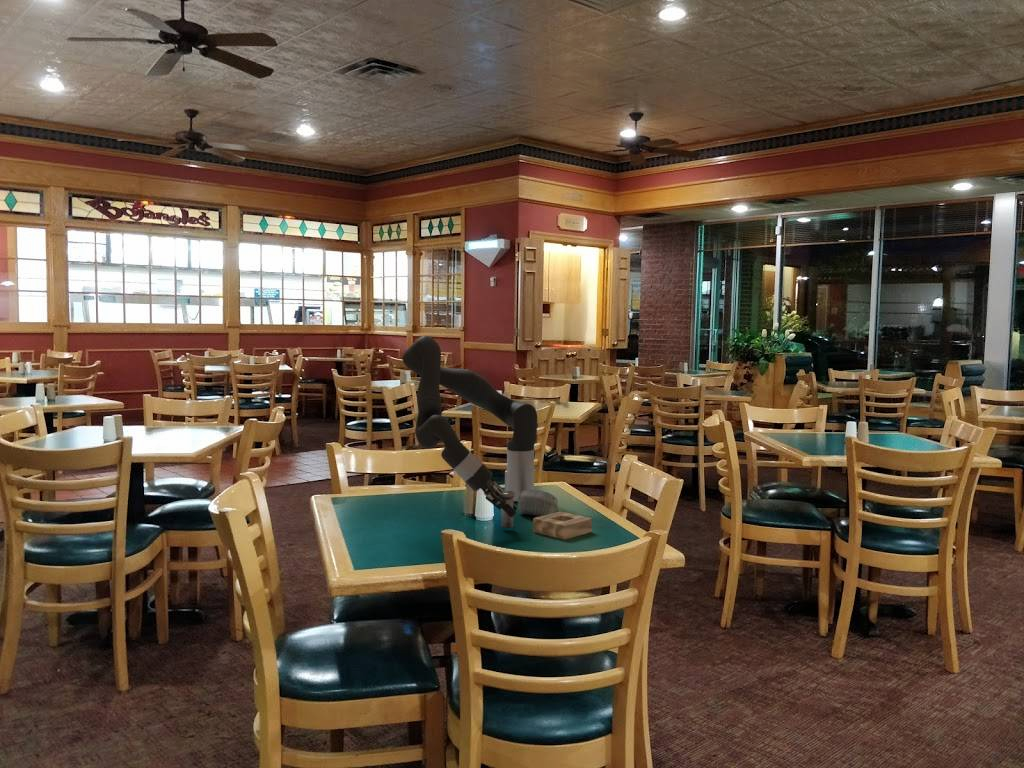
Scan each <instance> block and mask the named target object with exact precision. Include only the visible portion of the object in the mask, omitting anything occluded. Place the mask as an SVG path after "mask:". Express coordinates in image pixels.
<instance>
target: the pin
mask: <svg viewBox="0 0 1024 768" xmlns="http://www.w3.org/2000/svg"><path fill="white" fill-rule="evenodd" d="M500 493H501V494H502V495H503V498H504V500H505V501H507V503H508V504H509V505H510V506H511V507H512V508H513V504H514V501H513V497H515V492H512V491H505V490H504V491H502V492H500ZM501 527H502V528H505V529H510V528H513V527H514V516H513V517H510V516H509V515H508V514H507V513H506V512H505V511H504V510H503V509H501Z"/></svg>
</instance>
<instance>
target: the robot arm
mask: <svg viewBox="0 0 1024 768" xmlns="http://www.w3.org/2000/svg"><path fill="white" fill-rule="evenodd" d="M401 358H402V361H403V362H402V363H403V364H404V365H405V366H406V368H407V369H408V370H410V371H412V372H413V373H415V374H417V375H418V376H420V378H419V379H420V380H419V383H418V387H417V392H416V403H417V404H416V405H417V411H418V413H417V417H416V424H415V432H414V433H415V437H416V441H417V442H418V444H419V445H420V446H421V447H423V448H425V449H432V448H434V447H436V446H437V445H438V444H439V443H440V442H441V441H442V442H443V444H444V448H443V450H442V451H441V455H440V456H441V457H442V460H444V462H446V464H447V465H449V466H450V467H451V468H452V469H453V471H454V472H455V473H456V475H458V476H459V478H461V480H462V481H463V482H464V483H465V484H466V485H467V486H468V487H470V488H471V490H472V491H474V492H477V491H479V490H480V489H481V491H482V492H483V495H484V496H485V498H484V499H486V500H487V501H488V502H489V503H490V504H492V505H493V506H494V507H496V508H497V509H498V510H499V511H500V510H502V509H503V510H504V511H505V512H506V513H507V514H508V515H509V516H510V517H513V518H514V516H515V515H516V513H517V509H518V506H516V505H515V504H514V503H513V508H512V507H511V506H510V505H509V504H508V503H507V501H505V500H504V498H503V495H502V494H501V493H500V492H502V491H512V492H515V497H513V502H517V503H518V499H519V496H520V494H521V493H522V492H523V491H524V490H535V444H536V442H537V435H538V413H537V409H536V408H535V406H534V405H532V404H530V403H527V402H521V401H516V400H514V399H512V398H509V397H507V396H505V395H503V394H502V393H500V392H499V391H498V390H497V389H496V388H495V387H494V386H493V384H491V383H490V382H489V380H487V379H486V378H484V377H483V376H481V375H479V374H477V372H475V371H472V370H471V369H465V368H451V367H449V368H448V367H443V366H441V364H442V363H441V362H442V351H441V347H440V345H439V344H438V342H437V340H435V339H434V338H433V337H431V336H429V335H423V336H420V337H418V338H417V339H416V340H415V341H414V342H413V343H412V344H411V345H410V346H408V348H407V349H406V350H405V351H404V352H403V353H402V357H401ZM440 387H443V388H446V389H447V390H448V391H450V392H452V393H453V394H455V395H457V396H459V397H460V398H462V399H463V400H465V401H467V402H469V403H470V404H471V405H472V404H473V405H474V406H476V407H478V408H480V409H482V410H485V411H487V412H489V413H490V414H492V415H494V417H495V418H498V419H499V420H500V421H501V422H503V423H504V424H505V425H506V426H508V427H509V428H512V429H513V434H512V437H511V439H509V440H508V441H507V443H506V459H507V460H506V470H505V471H504V489H503V488H502V487H501V485H500V484H499V483H498V481H496V480H494V481H492V480H491V478H492V476H493V472H492V471H491V470H490V469H489V468H488V467H487V466H486V465H485V463H483V462H482V461H481V460H480V459H479V458H478V456H476V455H475V454H474V453H472V452H471V451H470V450H469V449H468V448H467V447H466V446H465V445H464V444H463V443H462V441H461V440H460V439H459V437H458V436H457V434H456V432H455V431H454V428H453V427H452V425H451V423H450V421H448V419H446V417H444V416H442V412H443V407H442V399H441V394H440V393H441V392H440Z"/></svg>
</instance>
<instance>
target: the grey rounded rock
mask: <svg viewBox="0 0 1024 768" xmlns="http://www.w3.org/2000/svg"><path fill="white" fill-rule="evenodd" d="M558 503H559V502H558V499H557V497H556V495H554V494H552V493H550V492H548V491H544V490H538V489H534V490H524V491H523V492H522V493H521V494H520V496H519V499H518V502H517V509H518V511H519V513H521V514H522V515H527V516H534V517H541V516H544V515H548V514H552V513H556V512H557V509H558Z"/></svg>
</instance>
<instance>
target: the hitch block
mask: <svg viewBox="0 0 1024 768" xmlns="http://www.w3.org/2000/svg"><path fill="white" fill-rule="evenodd" d="M532 519H533V521H532V523H533V524H532V525H533V527H532V532H533V533H537V534H540V535H543V536H544V535H545V536H547V537H552V538H556V539H560V540H564V541H565V540H569V539H572V538H575V537H578V536H582V535H586V534H588V533H592V532H593V531H592V528H593V527H592V525H593V523H592V521H593V519H592V517H587V516H584V515H583V516H582V515H578V514H573V513H570V512H566V511H556V512H555V513H552V514H548V515H544V516H541V517H538V516H536V517H534V518H532Z"/></svg>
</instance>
